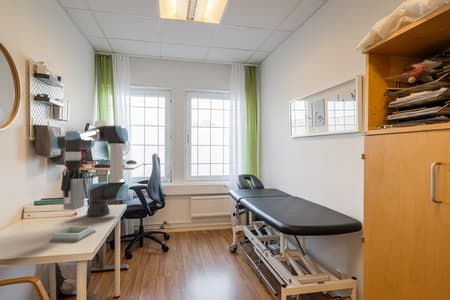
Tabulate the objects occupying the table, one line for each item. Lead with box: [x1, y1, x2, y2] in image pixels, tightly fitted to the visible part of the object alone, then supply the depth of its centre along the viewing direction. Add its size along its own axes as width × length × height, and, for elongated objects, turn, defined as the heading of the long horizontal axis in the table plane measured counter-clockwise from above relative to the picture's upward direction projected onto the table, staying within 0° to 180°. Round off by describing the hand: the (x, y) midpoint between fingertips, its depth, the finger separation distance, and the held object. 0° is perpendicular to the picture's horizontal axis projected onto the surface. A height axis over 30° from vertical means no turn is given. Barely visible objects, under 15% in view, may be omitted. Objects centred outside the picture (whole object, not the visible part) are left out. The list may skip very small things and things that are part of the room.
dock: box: [49, 225, 96, 243], centre depth 140 cm, size 16×15×4 cm
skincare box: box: [62, 179, 85, 211], centre depth 140 cm, size 8×7×16 cm
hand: (73, 201), depth 140 cm, fingers closed on skincare box, 8 cm apart
